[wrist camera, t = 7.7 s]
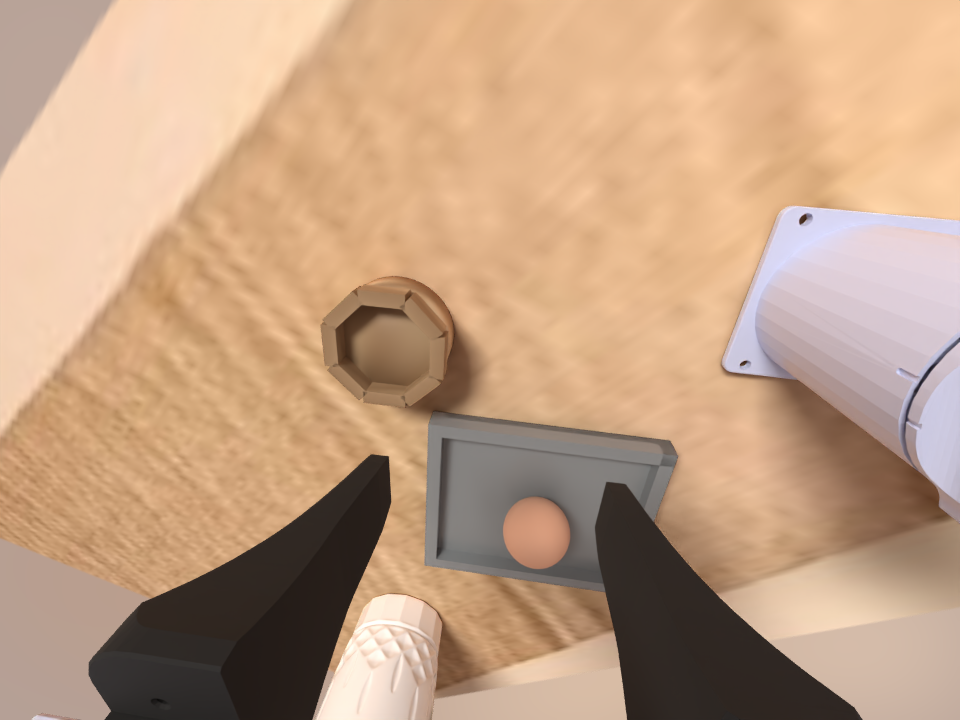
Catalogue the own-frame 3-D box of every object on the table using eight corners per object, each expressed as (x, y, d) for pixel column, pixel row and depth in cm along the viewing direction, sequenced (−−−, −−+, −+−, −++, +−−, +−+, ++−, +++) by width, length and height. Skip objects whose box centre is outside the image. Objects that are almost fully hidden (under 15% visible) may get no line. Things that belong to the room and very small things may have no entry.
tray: (670, 440, 23) (678, 456, 22) (621, 576, 28) (626, 595, 27) (433, 411, 24) (428, 424, 23) (428, 548, 29) (424, 565, 28)
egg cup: (457, 282, 20) (446, 299, 18) (451, 384, 23) (441, 412, 20) (343, 270, 21) (316, 285, 18) (350, 372, 23) (328, 398, 21)
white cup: (468, 628, 33) (447, 800, 24) (404, 656, 36) (363, 820, 27) (401, 574, 31) (350, 740, 22) (338, 609, 34) (270, 769, 25)
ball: (557, 477, 24) (564, 529, 21) (573, 522, 26) (581, 579, 22) (496, 489, 25) (492, 541, 22) (514, 532, 27) (513, 588, 23)
